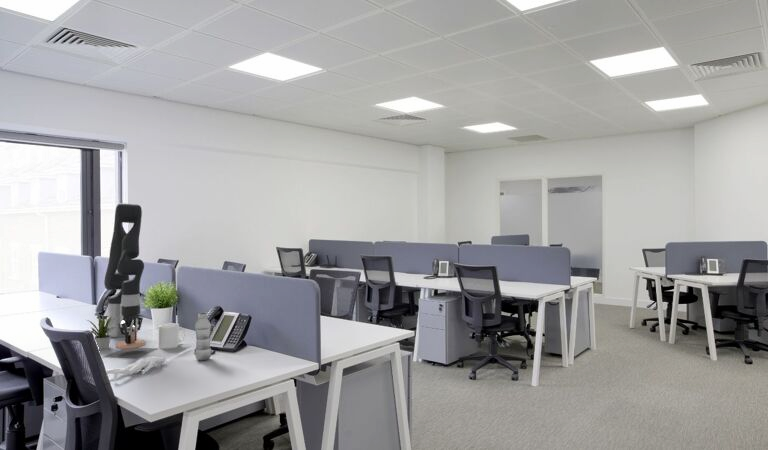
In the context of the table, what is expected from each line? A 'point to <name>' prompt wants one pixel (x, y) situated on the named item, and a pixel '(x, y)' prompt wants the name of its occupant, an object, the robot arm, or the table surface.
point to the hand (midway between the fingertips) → (130, 342)
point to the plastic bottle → (203, 337)
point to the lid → (133, 343)
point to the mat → (131, 353)
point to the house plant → (102, 333)
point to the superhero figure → (137, 366)
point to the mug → (169, 335)
